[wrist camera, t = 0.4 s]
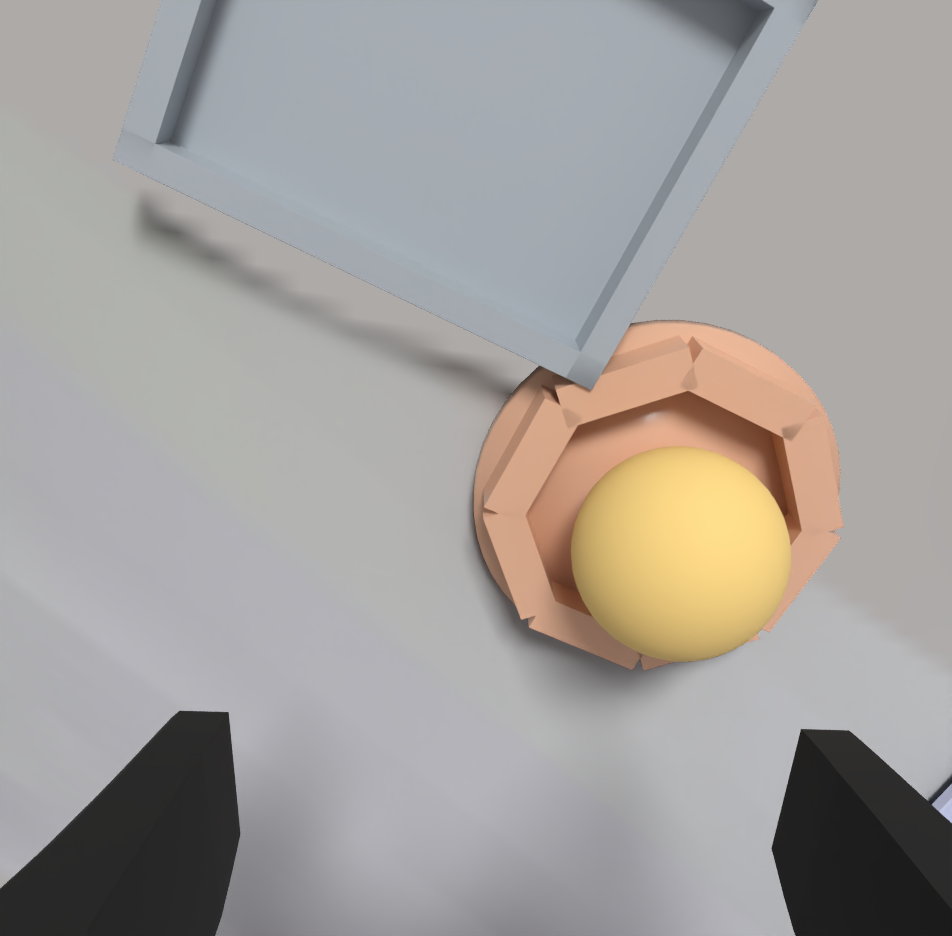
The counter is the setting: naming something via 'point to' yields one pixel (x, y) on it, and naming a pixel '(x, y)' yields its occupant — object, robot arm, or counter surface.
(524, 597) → the dish
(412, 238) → the tray
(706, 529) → the ball
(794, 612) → the counter surface
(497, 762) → the counter surface
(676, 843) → the counter surface
